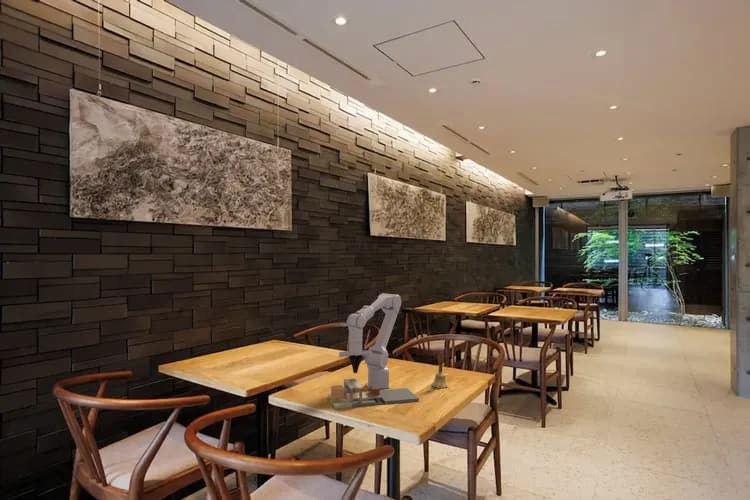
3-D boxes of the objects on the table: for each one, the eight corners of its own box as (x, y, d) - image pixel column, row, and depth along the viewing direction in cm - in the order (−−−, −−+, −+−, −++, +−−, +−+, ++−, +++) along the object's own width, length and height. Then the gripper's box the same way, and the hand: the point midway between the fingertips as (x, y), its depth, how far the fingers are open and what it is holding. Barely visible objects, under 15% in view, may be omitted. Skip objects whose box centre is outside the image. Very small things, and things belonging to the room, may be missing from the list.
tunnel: (354, 392, 183) (355, 378, 183) (362, 402, 172) (362, 387, 172) (343, 393, 182) (343, 379, 182) (350, 403, 170) (350, 388, 170)
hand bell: (450, 384, 202) (450, 351, 202) (447, 389, 194) (447, 354, 195) (432, 382, 205) (433, 349, 205) (429, 387, 197) (430, 353, 197)
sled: (375, 392, 184) (375, 384, 184) (380, 398, 177) (380, 389, 177) (330, 396, 178) (330, 387, 178) (333, 402, 171) (333, 393, 171)
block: (341, 394, 178) (341, 385, 178) (344, 398, 174) (344, 388, 174) (331, 395, 177) (331, 385, 177) (333, 399, 172) (333, 389, 172)
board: (406, 390, 192) (406, 388, 192) (418, 401, 178) (418, 398, 178) (328, 397, 181) (328, 394, 181) (334, 408, 168) (334, 405, 168)
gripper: (341, 344, 180) (341, 376, 180) (374, 342, 184) (373, 374, 184) (338, 340, 186) (337, 371, 186) (369, 339, 191) (369, 369, 191)
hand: (355, 372), depth 186 cm, fingers closed
